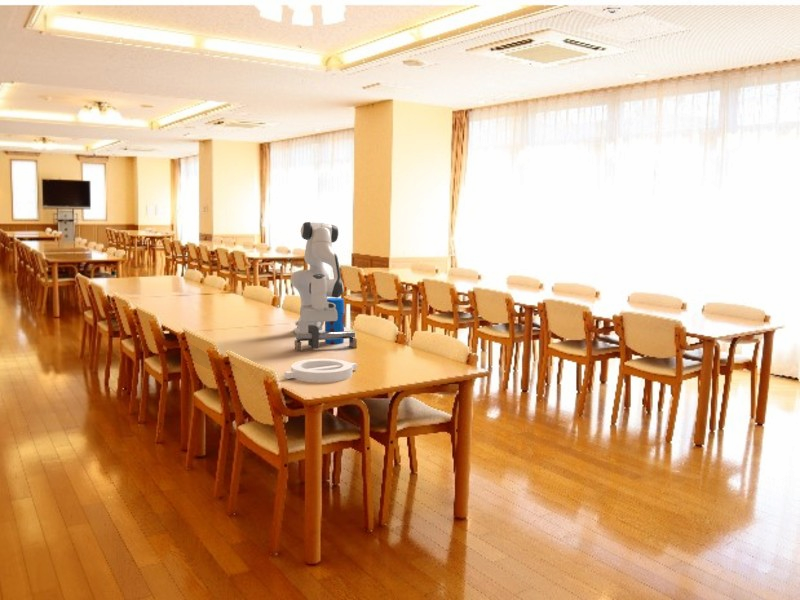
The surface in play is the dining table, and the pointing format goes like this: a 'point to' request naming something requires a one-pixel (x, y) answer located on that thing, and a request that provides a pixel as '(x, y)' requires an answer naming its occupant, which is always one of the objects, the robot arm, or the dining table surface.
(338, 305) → the thermos
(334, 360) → the ring with crossbar
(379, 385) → the dining table surface
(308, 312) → the robot arm
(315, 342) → the collar
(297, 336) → the pipe rig
